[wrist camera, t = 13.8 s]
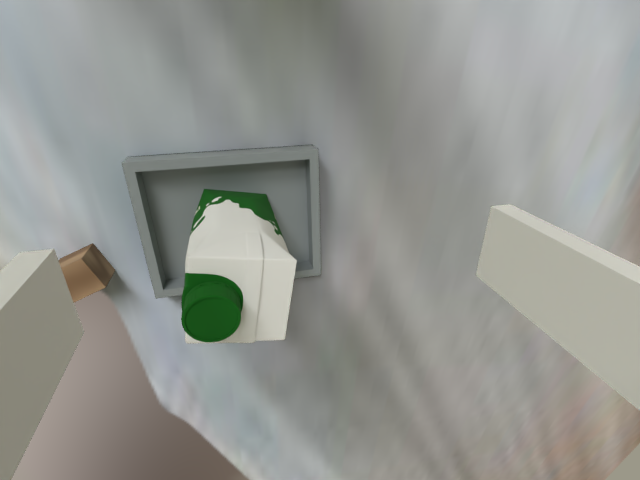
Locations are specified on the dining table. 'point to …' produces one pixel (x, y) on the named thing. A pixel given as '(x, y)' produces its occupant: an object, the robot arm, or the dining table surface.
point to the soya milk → (236, 271)
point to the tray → (230, 175)
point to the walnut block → (86, 272)
